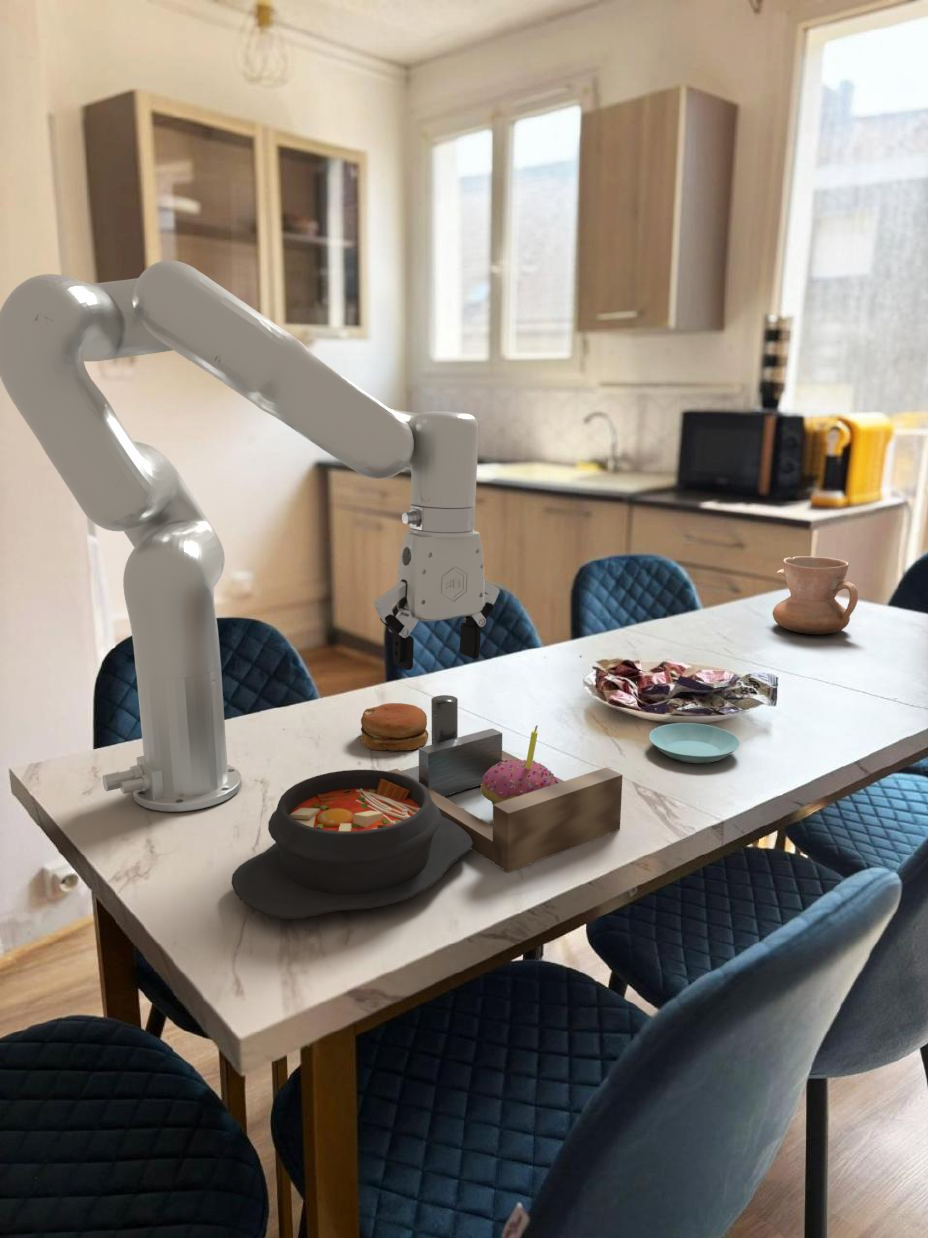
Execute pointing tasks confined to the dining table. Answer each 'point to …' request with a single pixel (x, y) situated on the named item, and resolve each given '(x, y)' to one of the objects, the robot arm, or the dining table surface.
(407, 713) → the burger
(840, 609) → the ceramic jug
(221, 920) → the dining table surface
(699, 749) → the saucer
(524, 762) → the cupcake
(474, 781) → the ram
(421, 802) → the casserole
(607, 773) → the press bed
